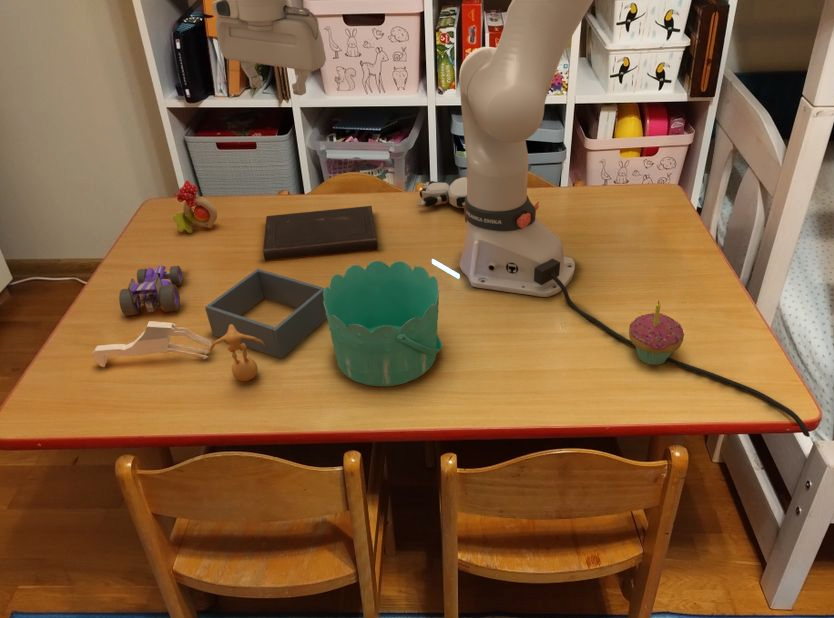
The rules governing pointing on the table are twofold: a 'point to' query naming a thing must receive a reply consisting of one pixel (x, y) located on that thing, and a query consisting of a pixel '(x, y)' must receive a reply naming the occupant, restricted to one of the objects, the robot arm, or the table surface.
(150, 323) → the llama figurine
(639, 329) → the cupcake
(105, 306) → the table surface
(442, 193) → the robot toy
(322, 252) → the hardcover book
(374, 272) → the basket
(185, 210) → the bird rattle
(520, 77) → the robot arm
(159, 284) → the toy race car
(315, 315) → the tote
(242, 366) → the figurine
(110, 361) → the table surface
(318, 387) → the table surface
